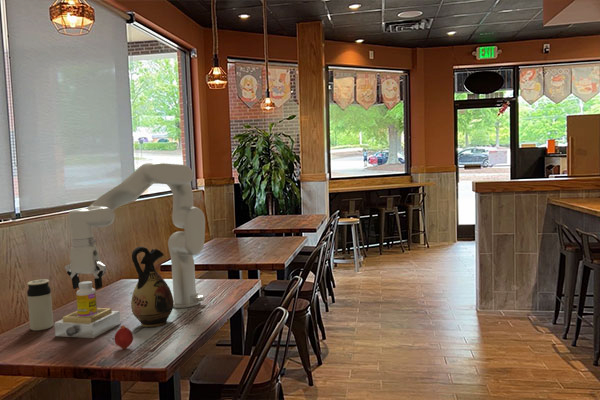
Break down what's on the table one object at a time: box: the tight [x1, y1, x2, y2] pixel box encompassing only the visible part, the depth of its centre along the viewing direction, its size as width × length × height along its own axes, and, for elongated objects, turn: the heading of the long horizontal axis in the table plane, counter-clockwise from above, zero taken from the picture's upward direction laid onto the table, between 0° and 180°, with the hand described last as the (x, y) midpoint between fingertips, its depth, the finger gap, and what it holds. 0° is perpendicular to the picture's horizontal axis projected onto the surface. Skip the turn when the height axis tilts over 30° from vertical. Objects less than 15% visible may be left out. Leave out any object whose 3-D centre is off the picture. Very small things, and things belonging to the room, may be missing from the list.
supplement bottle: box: [75, 280, 98, 317], centre depth 186 cm, size 7×7×13 cm
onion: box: [114, 324, 134, 350], centre depth 165 cm, size 6×6×8 cm
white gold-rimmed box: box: [53, 307, 121, 339], centre depth 186 cm, size 16×18×6 cm
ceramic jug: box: [130, 246, 174, 328], centre depth 189 cm, size 17×15×30 cm
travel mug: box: [26, 278, 54, 332], centre depth 192 cm, size 8×8×18 cm
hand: (87, 288), depth 186 cm, fingers open, 9 cm apart
